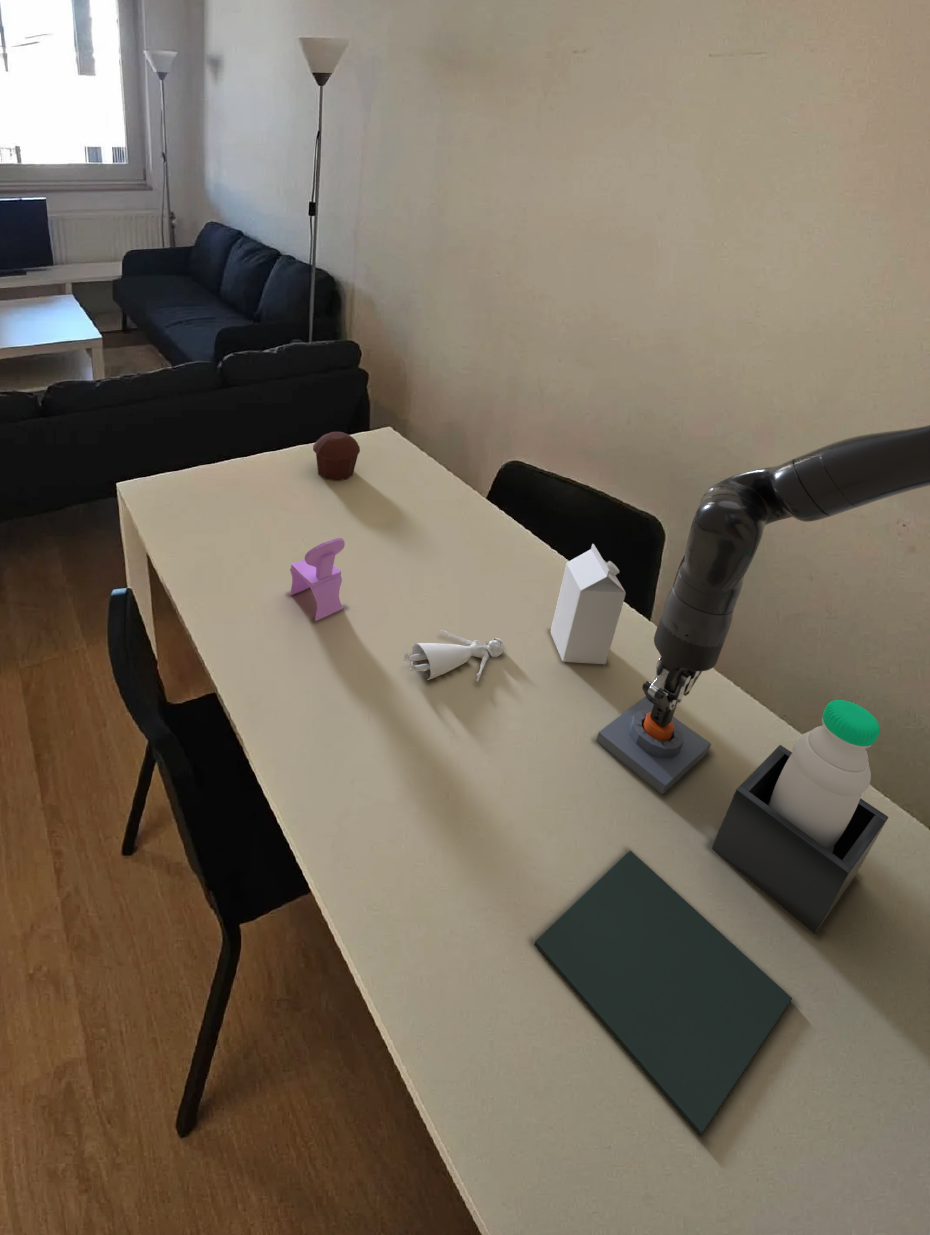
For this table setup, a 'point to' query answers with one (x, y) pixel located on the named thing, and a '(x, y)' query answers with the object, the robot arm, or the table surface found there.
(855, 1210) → the table surface
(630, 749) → the control block
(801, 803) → the water bottle
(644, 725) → the button
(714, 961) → the mat
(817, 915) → the dark grey storage bin
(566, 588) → the milk carton
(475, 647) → the woman figurine
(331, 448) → the muffin
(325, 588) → the toy chair
